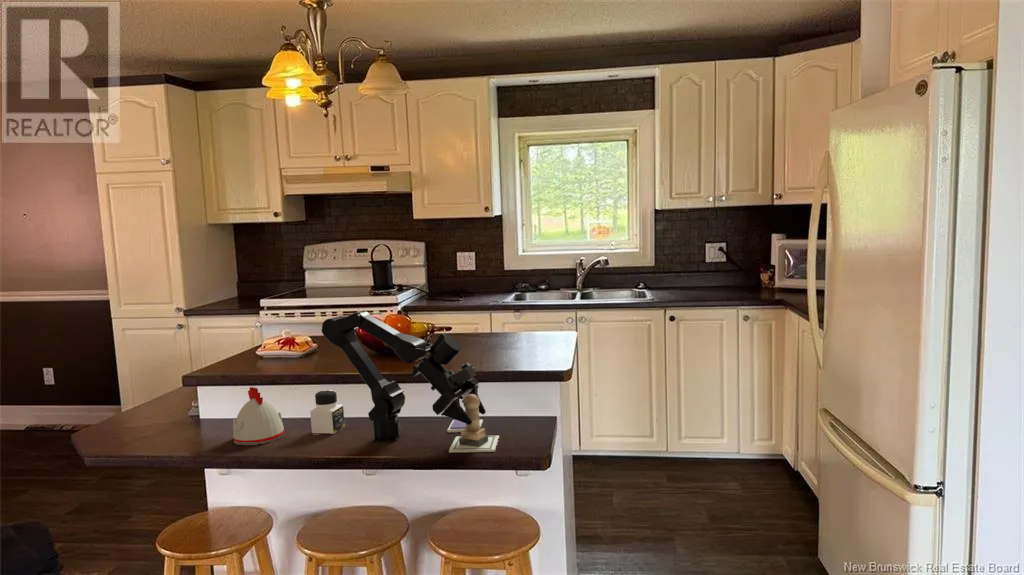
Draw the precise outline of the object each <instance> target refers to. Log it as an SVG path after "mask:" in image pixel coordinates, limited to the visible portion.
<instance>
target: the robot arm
mask: <svg viewBox="0 0 1024 575" xmlns="http://www.w3.org/2000/svg"><path fill="white" fill-rule="evenodd" d="M356 328H359V329H360V330H362V331H364V332H366V333H367V334H369V335H370V336H372V337H374V338H375V339H377V340H379V341H381V342H382V343H384V344H385V345H387V346H389V348H391V349H392V350H393V351H394V354H395V355H397V357H399V358H400V359H401V360H402V361H403V362H404V363H406V364H413V363H415V362H418V361H420V362H419V363H418V364H414V365H412V375H411V376H412V377H416V376H418V375H419V374H420V375H421V376H423V378H425V379H426V381H427V382H428V383H429V384H430V385H431V387H430V390H432V391H435V390H436V391H437V393H439V395H440V396H439V397H438V399H437V400H436V401H435V402H434V403H433V404H432V412H434V413H435V414H436V416H439V415H440V416H442V417H443V416H445V417H447V418H450V419H452V420H458V421H461V422H463V423H466V424H468V425H470V424H471V423H472V420H471V419H470V418H469V416H468V415H467V414H466V412H465V409H464V408H463V407H462V406H461V403H463V400H464V398H465V397H466V396H467V395H469V394H474V395H476V396H477V397H478V398H479V400H480V405H479V414H481V415H485V414H486V412H487V411H486V409H485V407H484V405H483V402H482V401H481V398H480V397H479V393H478V390H479V384H480V383H479V381H478V380H477V379H476V378H475V377H476V376H477V374H476V372H475V371H476V367H475V366H474V365H473V364H471V363H470V362H466V363H464V364H462V365H461V369H460V370H458V371H456V372H455V371H454V370H453V369H449V370H448V369H447V368H446V367H444V365H447V366H448V365H450V363H451V362H452V361H453V360H454V359H455V358H456V357H457V355H459V353H460V352H461V351H462V349H463V346H462V344H461V342H460V341H459V340H458V339H456V338H454V337H453V336H451V335H448V334H447V333H446V332H443V333H440V334H439V336H438V337H437V339H436V341H435V342H434V343H429V342H426V341H425V340H424V339H422V338H419V337H417V336H415V335H411V334H406V333H403V332H400V331H398V330H397V329H395V328H394V327H391V326H390V325H388V324H386V323H385V322H383V321H381V320H380V319H378V318H377V317H375V316H373V315H372V314H370V313H369V312H368V311H366V310H361V311H357V312H354V313H352V314H351V315H345V316H344V315H339V316H335V317H330V318H326V319H325V320H324V321H323V322H322V325H321V330H320V331H321V334H322V335H323V336H324V338H326V340H328V342H329V343H331V344H332V345H334V346H335V347H337V348H339V349H340V350H342V352H343V353H344V354H345V356H346V357H347V359H348V360H349V362H350V363H351V364H352V367H354V369H355V370H356V371H357V373H358V374H359V375H360V377H361V379H362V381H364V383H365V384H366V386H367V387H368V388H369V389H370V394H371V401H372V403H373V405H374V406H373V407H372V408H371V410H369V412H368V413H367V415H368V418H369V420H370V421H371V422H373V434H374V435H373V436H374V437H373V438H372V442H373V443H374V442H375V443H377V442H379V443H380V442H383V443H385V442H396V441H397V440H398V439H399V437H400V436H401V434H402V432H401V430H402V429H401V420H399V415H398V414H401V411H402V408H403V406H405V401H406V396H405V394H404V392H405V390H404V389H402V388H401V387H400V384H398V383H399V382H397V380H392V381H389V380H387V379H386V378H385V377H384V375H383V374H382V373H381V371H380V370H379V369H378V367H377V365H375V363H374V362H373V360H372V359H371V358H370V356H369V355H368V353H367V352H366V350H364V348H363V347H362V345H361V344H360V342H359V341H358V340H357V335H356ZM428 355H429V356H428ZM426 356H428V357H426ZM460 401H461V402H460Z"/></svg>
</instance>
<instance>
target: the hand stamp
mask: <svg viewBox="0 0 1024 575" xmlns="http://www.w3.org/2000/svg"><path fill="white" fill-rule="evenodd" d="M479 399H480V397H479V398H478V397H477V396H476V395H474V394H469V395H467V396H466V397H465V398H464V400H463V399H462V400H463V402H462V405H463V407H464V408H465V409H464V411H465V412H466V414H467V415H468V416H469V418H470V419H471V420H472V423H471V424H470V425H468V424H466V429H464V430H463V431H461V432H460V433H461V434H460V436H462V438H460V439H459V445H468V446H476V447H480V446H481V445H483V444H484V443H486V442H487V441H488V436H489V435H487V434H486V428H484V427H483V428H482V427H481V428H480V423H479V419H480V413H479V405H480V401H481V399H480V400H479Z"/></svg>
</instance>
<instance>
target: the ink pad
mask: <svg viewBox="0 0 1024 575" xmlns="http://www.w3.org/2000/svg"><path fill="white" fill-rule="evenodd" d="M483 422H484V419H481V418H479V423H480V427H481V428H482V425H483ZM464 429H466V423H463V422H461V421H458V420H456V419H452V421H451V423H450V424H449V427H448V428H447V429H446V431H447V433H461V431H463V430H464Z"/></svg>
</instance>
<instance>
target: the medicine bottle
mask: <svg viewBox="0 0 1024 575" xmlns="http://www.w3.org/2000/svg"><path fill="white" fill-rule="evenodd" d="M337 395H338V394H337V392H336V390H333V389H324V390H321V391H317V392H316V393H315V395H314V400H315V406H316V407H315V408H313V409H311V410H310V411H309V412H310V413H309V414H310V424H311V425H310V426H311V433H330V434H331V433H332V434H334V433H336V432H337V431H339V430H340V429H341V430H343V429H344V428H345V412H344V405H343V404H340V403H339V404H338V398H337V397H338V396H337ZM343 427H344V428H343ZM342 428H343V429H342ZM341 430H340V431H341ZM340 431H339V432H340ZM337 433H338V432H337ZM337 433H336V434H337ZM334 435H335V434H334Z"/></svg>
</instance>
